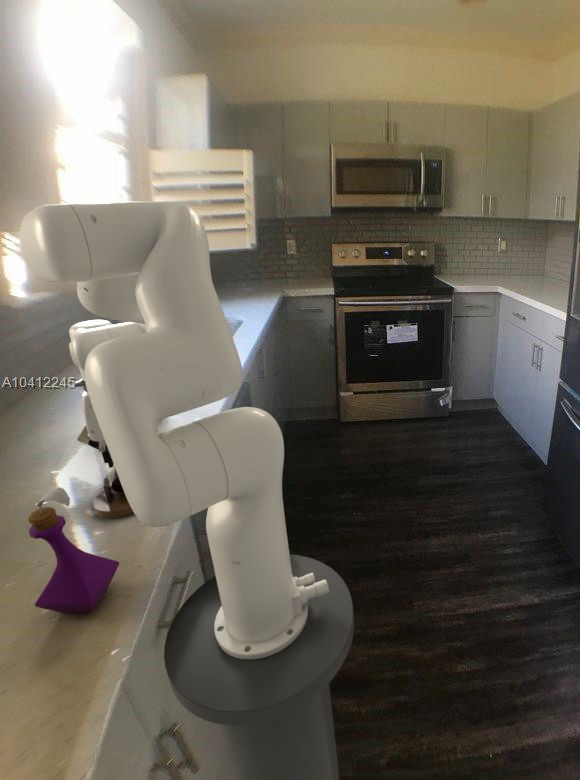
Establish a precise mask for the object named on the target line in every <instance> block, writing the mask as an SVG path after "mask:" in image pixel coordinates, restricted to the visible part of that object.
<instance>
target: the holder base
mask: <svg viewBox="0 0 580 780" xmlns="http://www.w3.org/2000/svg"><path fill="white" fill-rule="evenodd" d="M110 483H111V482H110V479H109V477H105V478H104V479H103V485H102V488H103V490H102V491H101V492H100V493H98V494H97V495H96V497H95V498H94V499H93V501H92V506H93V510H94V513H95V515H96V516H98V517H100V518H103V519H119V518H123V517H127V516H130V515H133V514H135V513H134V512H133V510H132V508H131V506H130V504H129V502H128V500H127V497H126V495H125V492H115V491H114V490H113V489H112V487H111V484H110Z"/></svg>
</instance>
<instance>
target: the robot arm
mask: <svg viewBox="0 0 580 780" xmlns="http://www.w3.org/2000/svg"><path fill="white" fill-rule="evenodd" d="M19 240H20V241H19V242H20V243H19V244H20V248H21V252H22V255H23V258H24V260H25V262H26V264H27V266H28V268H29V269H30V270H31V272H32V273H33V274H34V275H35V276H36V277H38V278H39V279H41V280H42V281H45V282H50V283H61V284H73V283H76V293H77V294H76V295H77V298H78V301H79V302H80V303H81V305H82V307H84V308H85V309H86V310H87V311H89V312H90V313H92V314H94V315H95V316H98V317H100V318H105V319H108V320H105V319H92V320H86V321H81V322H77V323H75V324H72V325H71V326H70V328H69V330H68V333H69V338H70V342H69V344H68V349H69V355H70V358H71V359H72V362H73V364H74V365H75V366H77V367H78V369H79V373H80V376H81V379H79V380H78V381H74V387H75V389H82V390H84V391H83V392H82V394H81V402H82V403H81V404H82V405H81V406H82V412H83V417H84V421H85V425H84V426H83V428H82V430H81V431H80V432H79V434H78V436H77V441H78V442H79V443H83V444H85V445H88V446H89V447H91V448H93V449H95V450H98V452H100V453H101V455H102V458H103V461H104V462H103V463H104V464H108V468H109V469H113V468H114V466H115V468H116V471H117V474H118V477H119V479H120V482H121V485H122V487H123V490H124V492H125V495H126V497H127V500H128V502H129V504H130V506H131V508H132V510H133V512H134V513H133V514H134V515H135V516H136V518H137V519H138V520H139V521H140V522H141V523H142V524H143V525H145V526H147V527H149V528H156V529H157V528H164V527H169V526H171V525H173V524H175V523H178V522H180V521H183V520H185V519H187V518H189V517H191V516H193V515H195V514H198V513H200V512H202V511H204V510H206V509H207V512H206V519H205V531H206V536H207V542H208V546H209V551H210V556H211V560H212V565H213V570H214V571H213V572H214V576H215V575H216V580H217V585H218V590H219V594H220V599H221V604H222V606H221V607H220V609H219V611H218V613H217V615H216V619H215V622H214V632H215V637H216V640H217V643H218V645H219V646H220V647H221V649H222V650H223V651H224V652H226V653H227V654H228V655H231V656H233V657H235V658H240V659H259V658H264V657H267V656H270V655H273V654H275V653H277V652H279V651H281V650H283V649H284V648H285V647H287V646H288V645H290V644H291V643H292V642H293V641H294V640H295V639H296V638H297V637H298V635H299V634H300V633H301V631H302V630H303V628H304V626H305V624H306V620H307V617H308V606H307V604H308V600H310V599H312V598H315V597H320V596H322V595H325V594H328V593H329V588H328V584H327V581H326V580H322V581H319V582H317V583H314V584H313V585H311V586H308V587H304V585H308V584H311V583H313V582H315V578H314V575H313V573H310V574H307V575H305V576H303V577H300V578H298V579H297V577H294V578H293V575H292V570H291V562H290V555H291V554H290V548H289V540H288V533H287V525H286V516H285V507H284V500H283V471H284V461H285V443H284V437H283V433H282V429H281V427H280V425H279V423H278V422H277V420H276V419H275V418H274V417H273V415H271V414H270V412H268V411H266V410H264V409H262V408H259V407H253V406H241V407H235V408H231V409H227V410H224V411H221V412H218V413H215V414H212V415H209V416H206V417H204V418H201V419H198V420H194V421H192V422H189V423H187V424H184V425H181V426H178V427H175V428H172V429H169V430H167V431H164V432H161V433H158V426H159V422H161V421H162V420H164V419H167V418H170V417H174V416H177V415H181V414H182V413H183V414H184V413H186V412H189V411H192V410H195V409H199V408H201V407H204V406H207V405H211V404H214V403H216V402H219V401H222V400H224V399H226V398H228V397H230V396H231V395H233V394H234V393H236V392H237V391H238V390H239V389H240V388H241V386H242V384H243V379H244V373H243V372H244V371H243V366H242V362H241V358H240V354H239V352H238V349H237V346H236V343H235V341H234V338H233V335H232V332H231V329H230V327H229V324H228V321H227V318H226V316H225V313H224V310H223V307H222V304H221V302H220V299H219V296H218V293H217V291H216V289H215V285H214V281H213V278H212V271H211V260H210V259H211V258H210V257H211V255H210V245H209V239H208V234H207V231H206V228H205V225H204V223H203V221H202V219H201V218H200V216H199V215H198V213H197V212H196V211H195V210H194V209H193V208H192V207H190V206H189V205H188V204H186V203H183V202H179V201H121V202H119V201H118V202H91V203H90V202H89V203H88V202H87V203H85V202H84V203H57V204H56V203H55V204H43V205H39V206H37V207H35V208H34V209H32V210H31V211H29V212H28V213H26V214H25V216H24V217H23V219H22V221H21V224H20V229H19ZM110 320H113V321H118V322H119V321H120V322H121V323H115V324H113V323H112V322H111V321H110ZM110 455H111V456H110ZM111 458H112V459H111Z"/></svg>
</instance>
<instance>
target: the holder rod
mask: <svg viewBox="0 0 580 780" xmlns="http://www.w3.org/2000/svg"><path fill="white" fill-rule="evenodd" d="M110 456H111V455H110ZM111 459H112V458H111ZM110 483H111V484H110V486H111V487H112V489H113V490H114V491H115V492H124V490H123V487H122V485H121V482H120V479H119V477H118V474H117V471H116V468H115V466H114V465H113V470H112V478H111V482H110Z"/></svg>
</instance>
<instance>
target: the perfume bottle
mask: <svg viewBox="0 0 580 780" xmlns="http://www.w3.org/2000/svg"><path fill="white" fill-rule="evenodd" d="M45 501H54V502H57V503H59V504H62V505H64V506H67V507H70V502H71V498H70V496H69V494H68V492H67V491H66V489H64V488H63V487H60V486H59V487H55V488H53V489H52V490H50V491H49V492H47V493H46V494H44V495H43V496H42V497H41V498H40V500H39V501H38V502H37V503H36V506H37V507H38V508H37V509H36V510H34V511H32V512H31V514H30V515H29V516H28V518H27V520H28V522H29V524H30V525H31V526H30V527H29V528H28V534H29V537H30V538H32V539H37V540H38V539H40V540H41V539H42V540H43V541H46V543H47V544H48V545H49V546H50V547H51V549H52V550H53V552H54V554H55V558H56V566H55V568H54V569H53V573H52V574H51V577H50V578H49V580H48V582H47V583H46V585H45V587H44V589H43V590H42V592H41V593H40V595H39V596H38V598H37V599H36V601H35V603H34V607H36V608H39V609H44V610H48V611H52V612H56V613H61V614H74V613H75V614H77V613H91V612H93V611H94V610H95V609H96V607H97V606H98V604H99V602H100V601H101V600H102V598H103V597H104V595H105V594H106V592H107V591H108V589H109V588H110V585H111V583H112V581H113V579H114V576H115V574H116V573H117V571H118V569H119V566H120V561H118V560H115V559H111V558H107V557H103V556H101V555H96V554H93V553H90V552H86V551H84V550H82V549H80V548H78V547H77V546H76V545H75V544H74V543H72V542H71V541H70V540H69V538H68V537H67V536H66V535H65V534H64V531H63V528H64V527H65V525H66V524H67V521H66V518H65V516H62V515H59V514H57V510H56V508H54V507H52V506H48V507H47V506H46V507H43V504H44V502H45Z"/></svg>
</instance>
